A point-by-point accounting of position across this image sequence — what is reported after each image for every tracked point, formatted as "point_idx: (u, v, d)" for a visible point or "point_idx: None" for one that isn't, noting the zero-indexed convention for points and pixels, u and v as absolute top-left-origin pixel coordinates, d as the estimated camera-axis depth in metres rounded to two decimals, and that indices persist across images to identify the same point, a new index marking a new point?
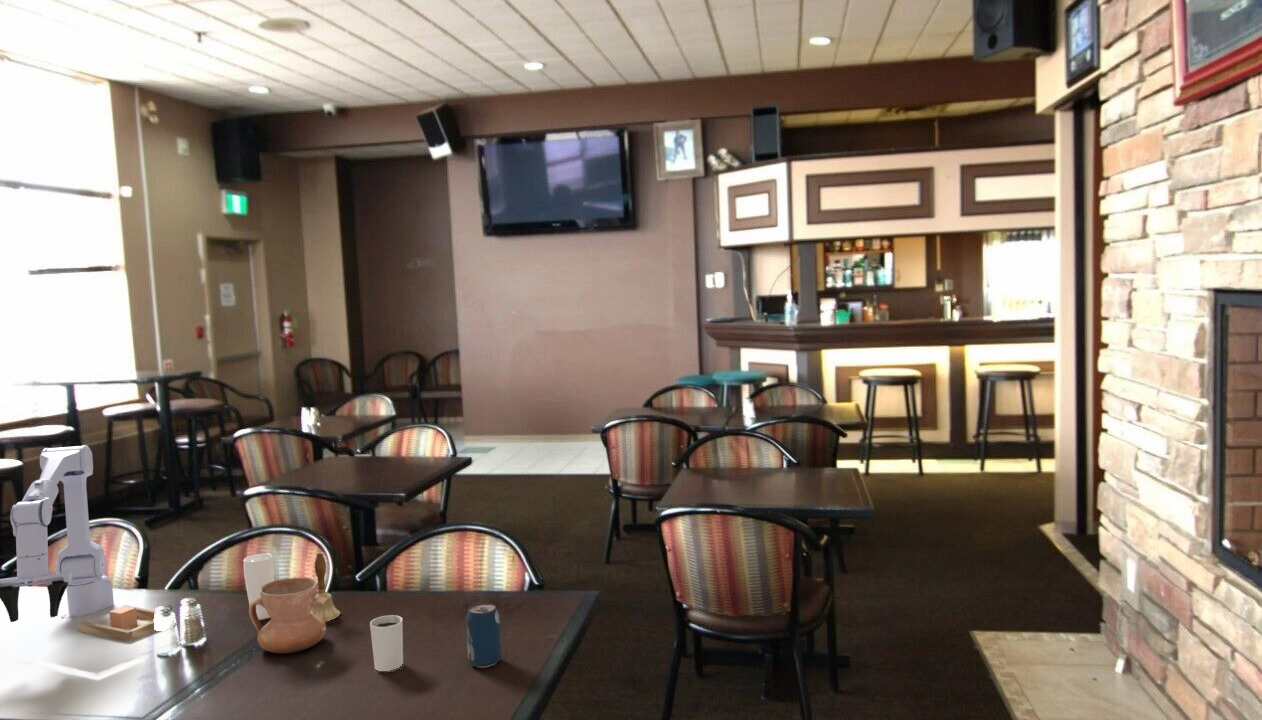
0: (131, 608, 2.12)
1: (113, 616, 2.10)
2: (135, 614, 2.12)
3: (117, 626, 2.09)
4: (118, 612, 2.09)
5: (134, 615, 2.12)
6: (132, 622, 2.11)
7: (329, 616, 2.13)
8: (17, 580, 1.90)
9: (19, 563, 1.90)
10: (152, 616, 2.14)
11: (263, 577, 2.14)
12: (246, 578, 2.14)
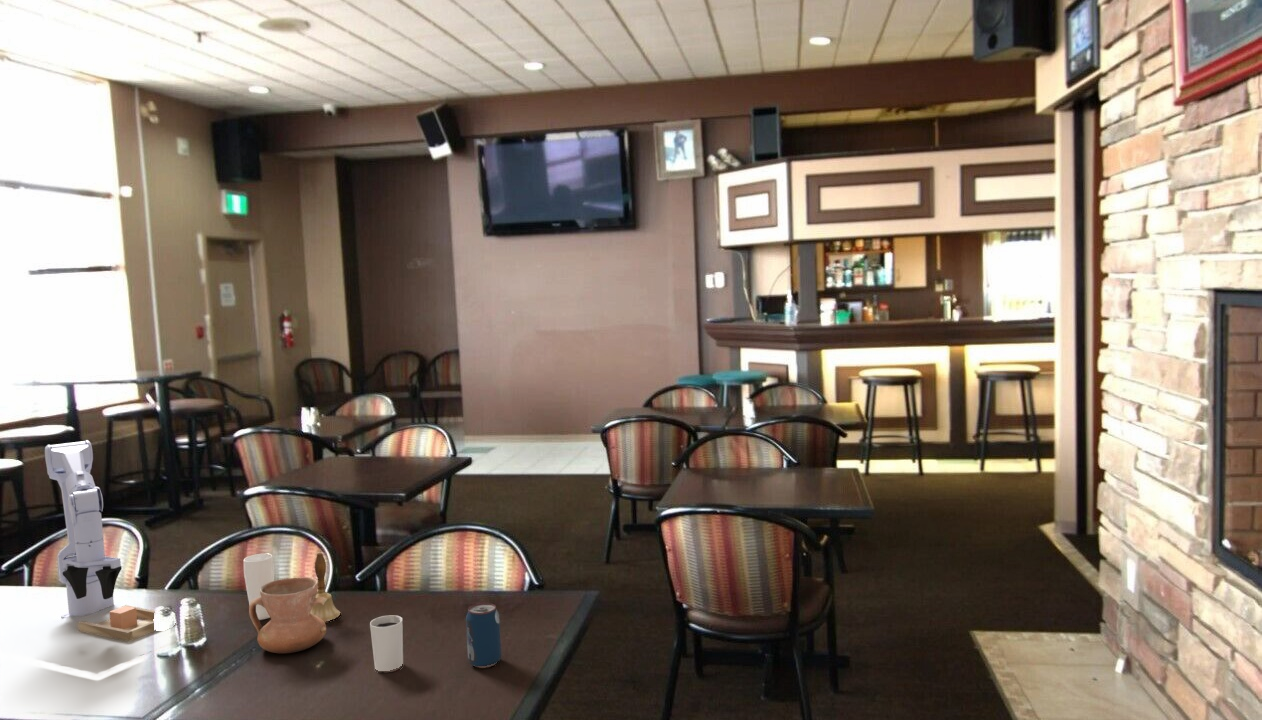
0: (131, 608, 2.12)
1: (113, 616, 2.10)
2: (135, 614, 2.12)
3: (117, 626, 2.09)
4: (118, 612, 2.09)
5: (134, 615, 2.12)
6: (132, 622, 2.11)
7: (329, 617, 2.13)
8: (75, 563, 2.05)
9: (75, 548, 2.05)
10: (152, 616, 2.14)
11: (263, 577, 2.14)
12: (246, 578, 2.14)
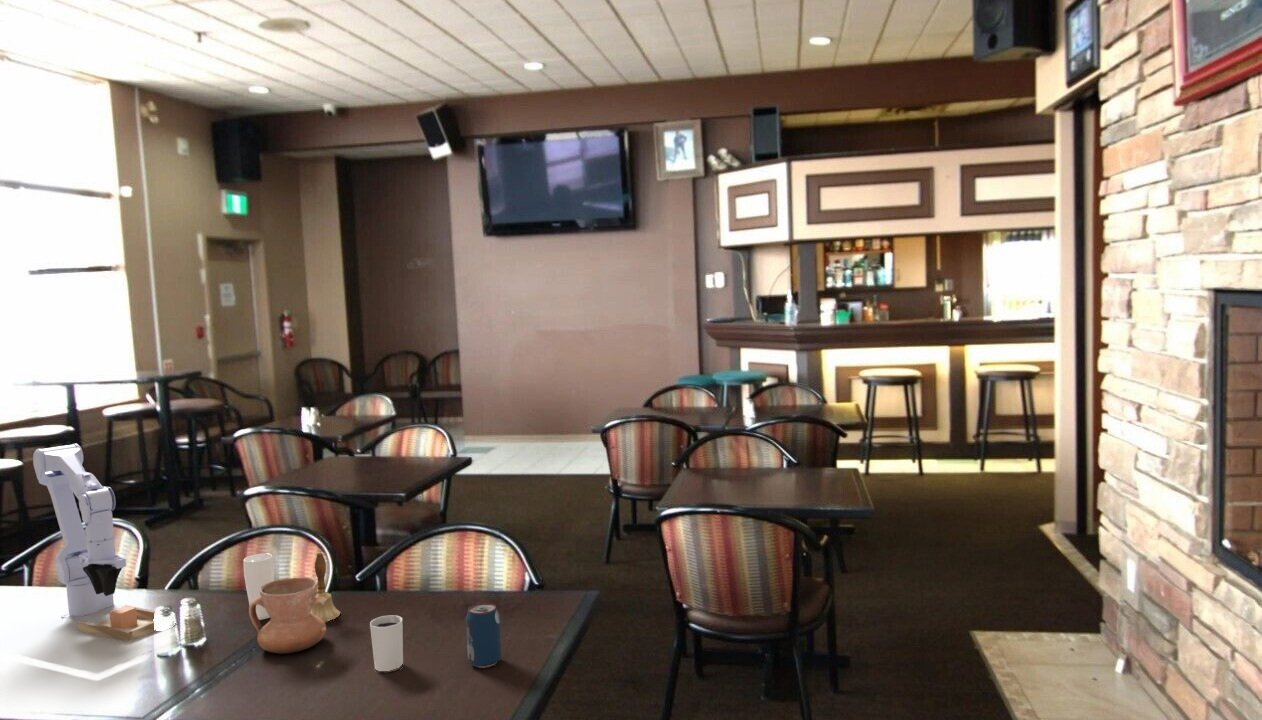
0: (131, 608, 2.12)
1: (113, 616, 2.10)
2: (135, 614, 2.12)
3: (117, 626, 2.09)
4: (118, 612, 2.09)
5: (134, 615, 2.12)
6: (132, 622, 2.11)
7: (329, 617, 2.13)
8: (86, 560, 2.11)
9: (87, 545, 2.11)
10: (152, 616, 2.14)
11: (263, 577, 2.14)
12: (246, 578, 2.14)
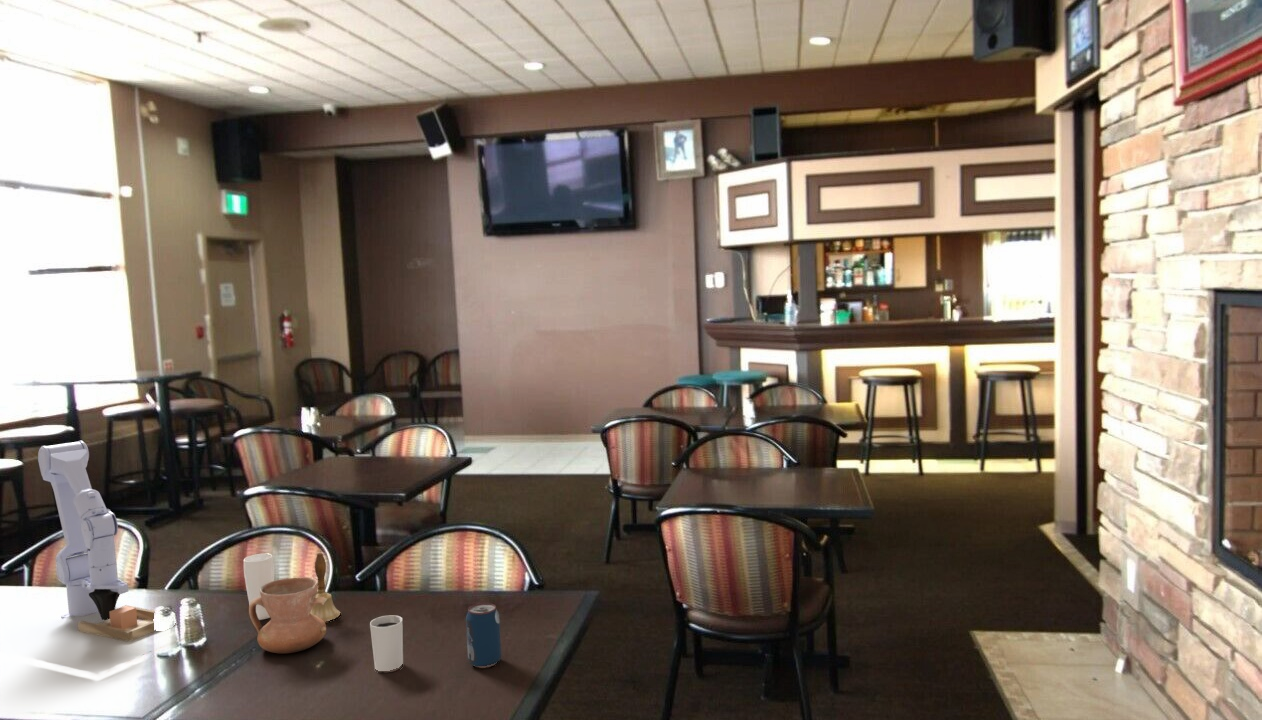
0: (131, 608, 2.12)
1: (113, 616, 2.10)
2: (135, 614, 2.12)
3: (117, 626, 2.09)
4: (118, 612, 2.09)
5: (134, 615, 2.12)
6: (132, 622, 2.11)
7: (329, 617, 2.13)
8: (89, 585, 2.12)
9: (89, 570, 2.11)
10: (152, 616, 2.14)
11: (263, 577, 2.14)
12: (246, 578, 2.14)
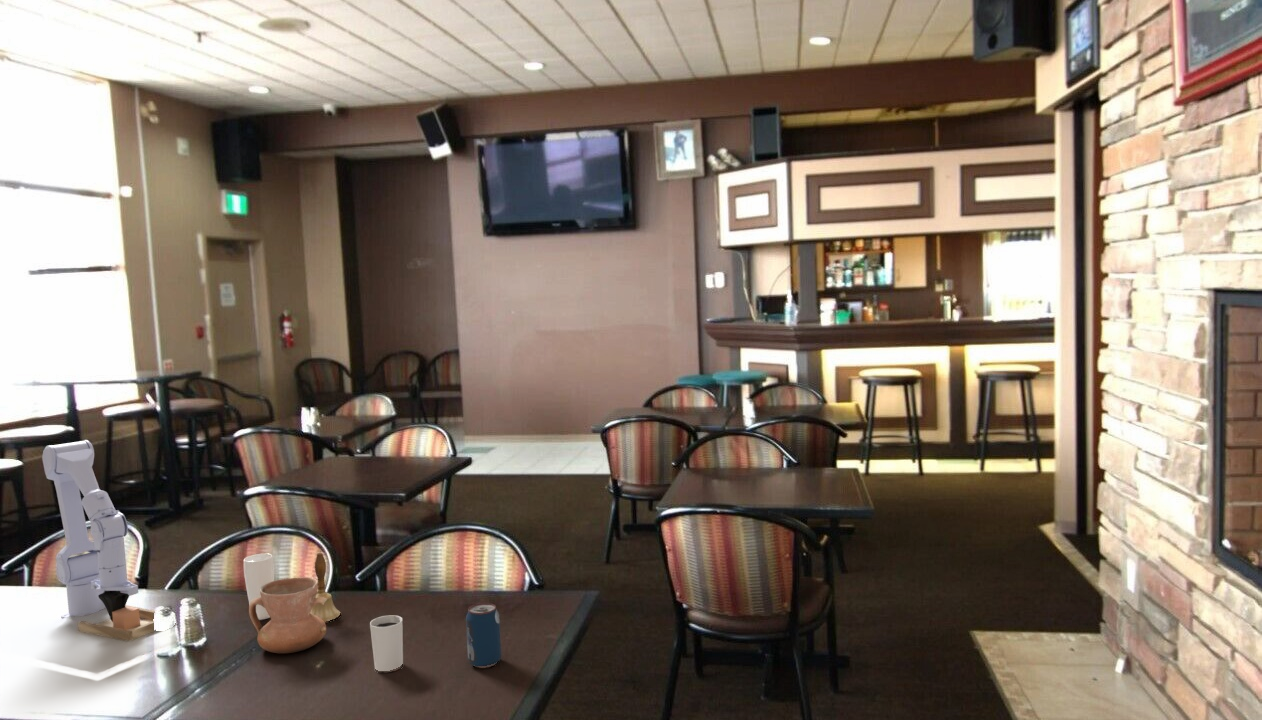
0: (134, 608, 2.11)
1: (115, 616, 2.09)
2: (138, 615, 2.11)
3: (120, 626, 2.09)
4: (121, 612, 2.09)
5: (137, 616, 2.11)
6: (135, 623, 2.11)
7: (329, 617, 2.13)
8: (98, 587, 2.10)
9: (99, 572, 2.10)
10: (152, 616, 2.14)
11: (263, 577, 2.14)
12: (246, 578, 2.14)
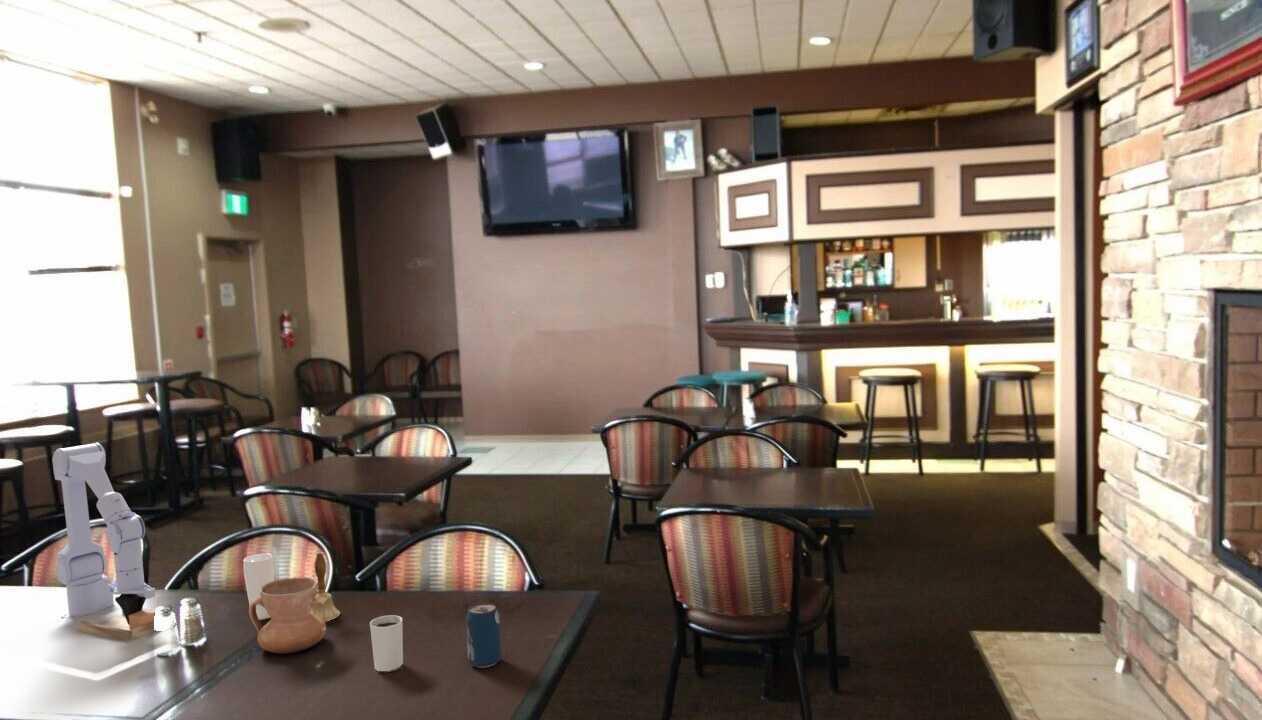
0: (151, 612, 2.09)
1: (132, 620, 2.07)
2: None
3: None
4: (138, 616, 2.06)
5: None
6: None
7: (329, 617, 2.13)
8: (115, 590, 2.08)
9: None
10: None
11: (263, 577, 2.14)
12: (246, 578, 2.14)
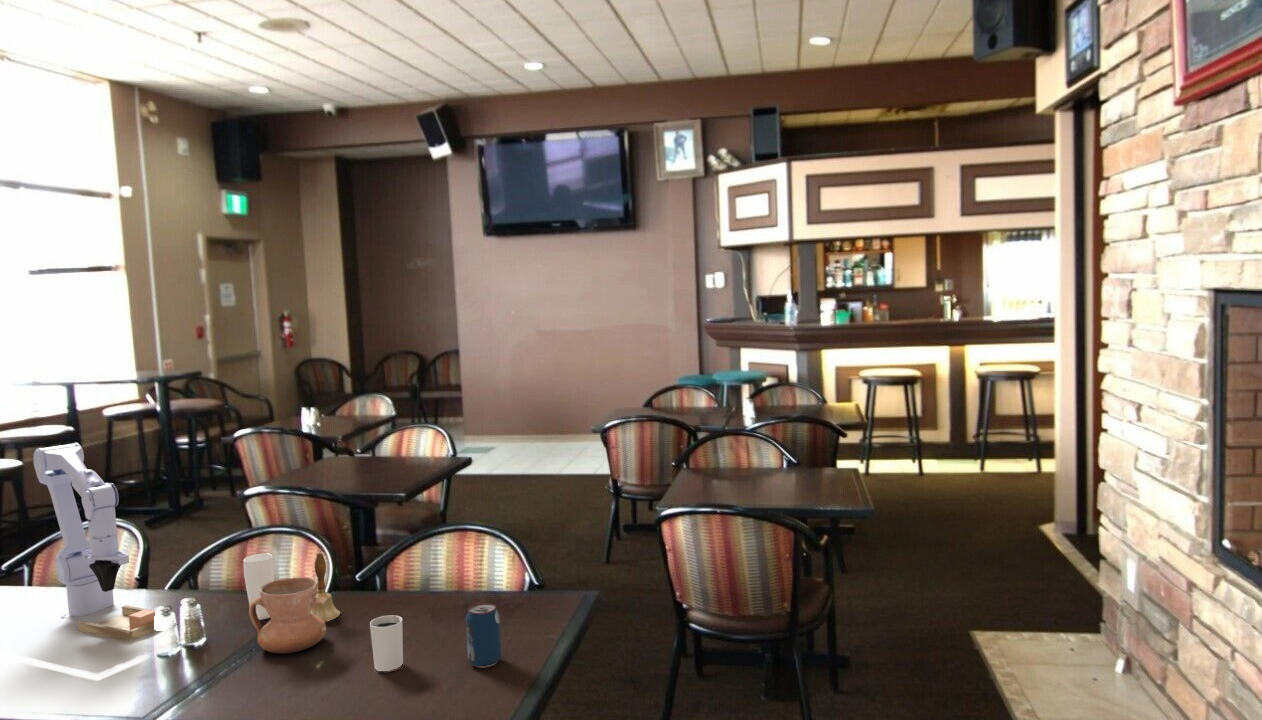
0: (151, 612, 2.09)
1: (132, 620, 2.07)
2: None
3: None
4: (138, 616, 2.06)
5: None
6: None
7: (329, 616, 2.13)
8: (89, 556, 2.11)
9: (90, 542, 2.10)
10: None
11: (263, 577, 2.14)
12: (246, 578, 2.14)
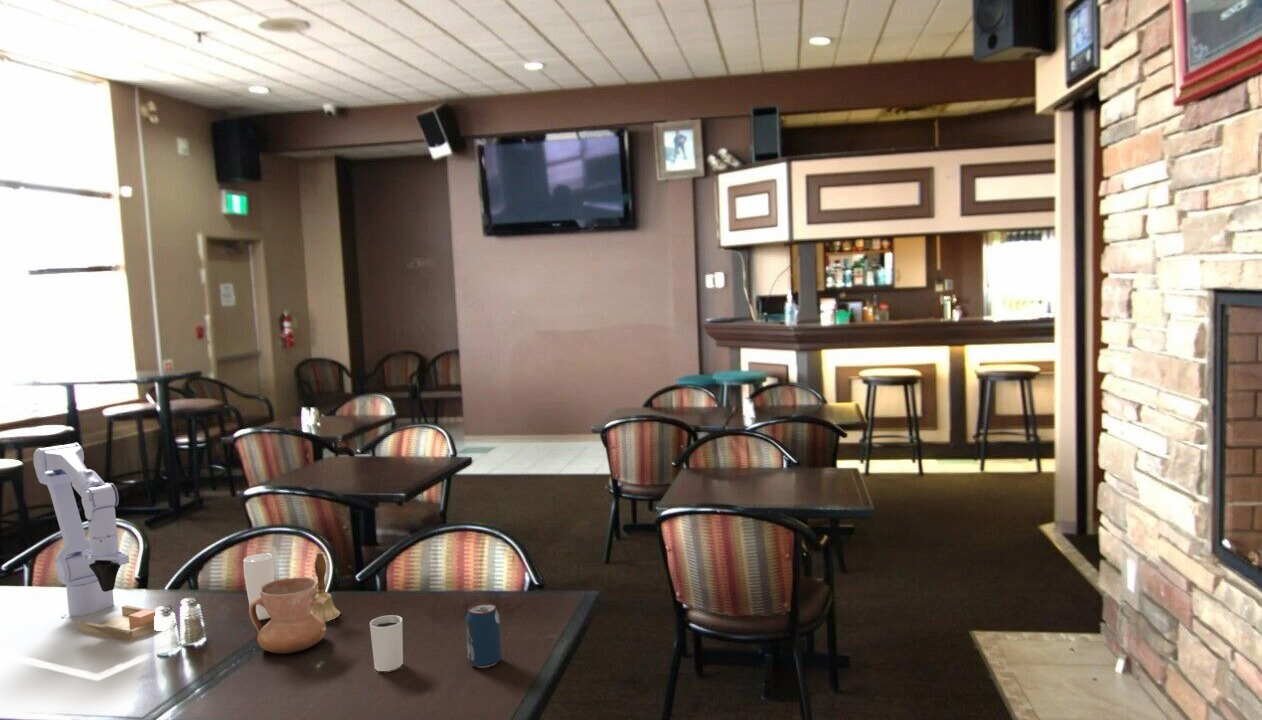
0: (151, 612, 2.09)
1: (132, 620, 2.07)
2: None
3: None
4: (138, 616, 2.06)
5: None
6: None
7: (329, 617, 2.13)
8: (89, 556, 2.11)
9: (90, 542, 2.10)
10: None
11: (263, 577, 2.14)
12: (246, 578, 2.14)
